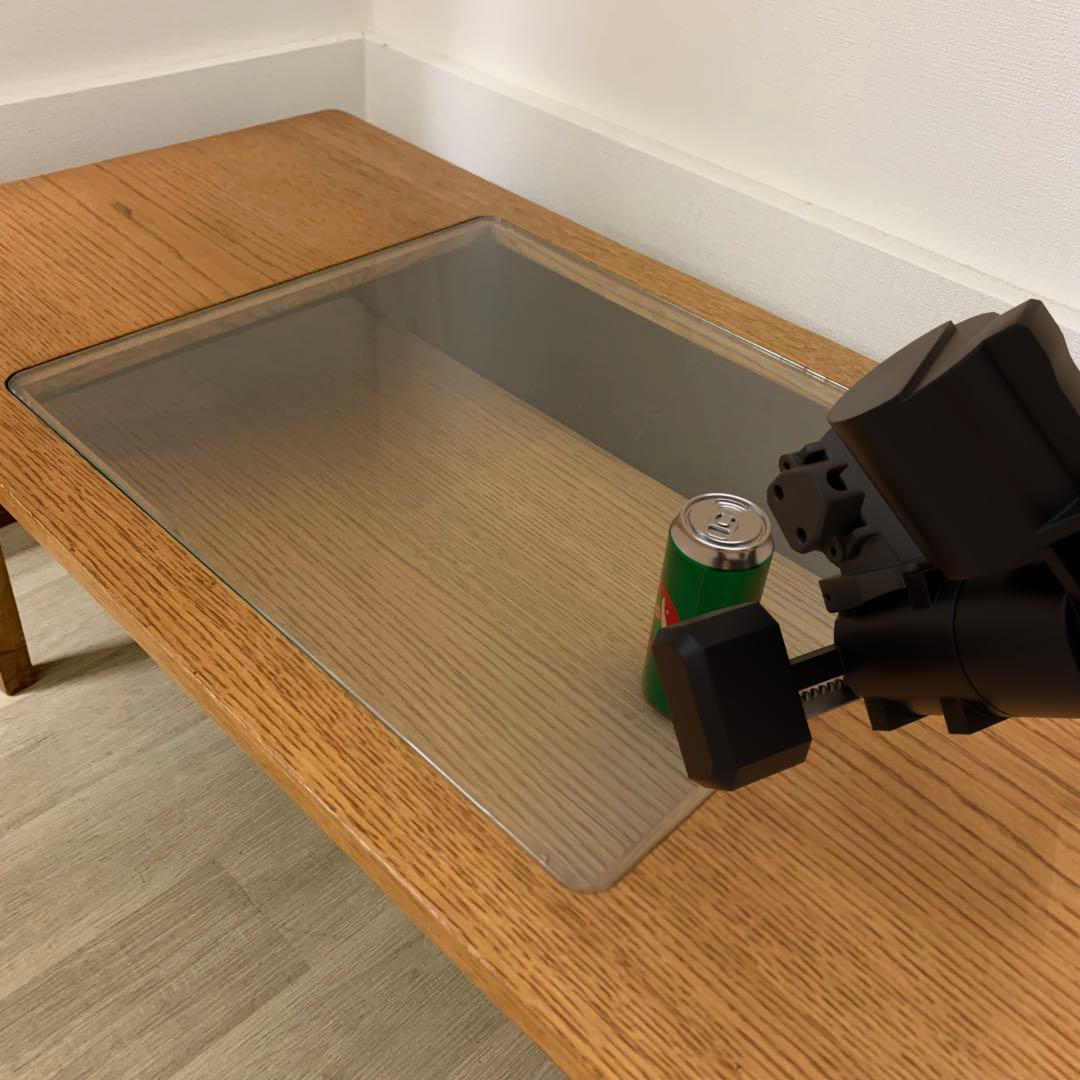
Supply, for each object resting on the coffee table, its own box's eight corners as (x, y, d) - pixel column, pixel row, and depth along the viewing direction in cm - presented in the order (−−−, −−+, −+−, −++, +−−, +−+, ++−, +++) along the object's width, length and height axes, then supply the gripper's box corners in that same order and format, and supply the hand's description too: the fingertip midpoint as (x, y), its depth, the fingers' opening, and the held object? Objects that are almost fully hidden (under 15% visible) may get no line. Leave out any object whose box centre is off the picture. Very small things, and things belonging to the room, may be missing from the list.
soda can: (745, 679, 62) (791, 507, 54) (717, 742, 58) (762, 568, 51) (659, 647, 63) (692, 476, 56) (626, 707, 60) (657, 532, 52)
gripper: (1140, 352, 42) (871, 440, 56) (724, 461, 34) (537, 530, 49) (1227, 642, 41) (934, 656, 56) (826, 814, 34) (608, 779, 49)
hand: (764, 649), depth 52 cm, fingers open, 9 cm apart
